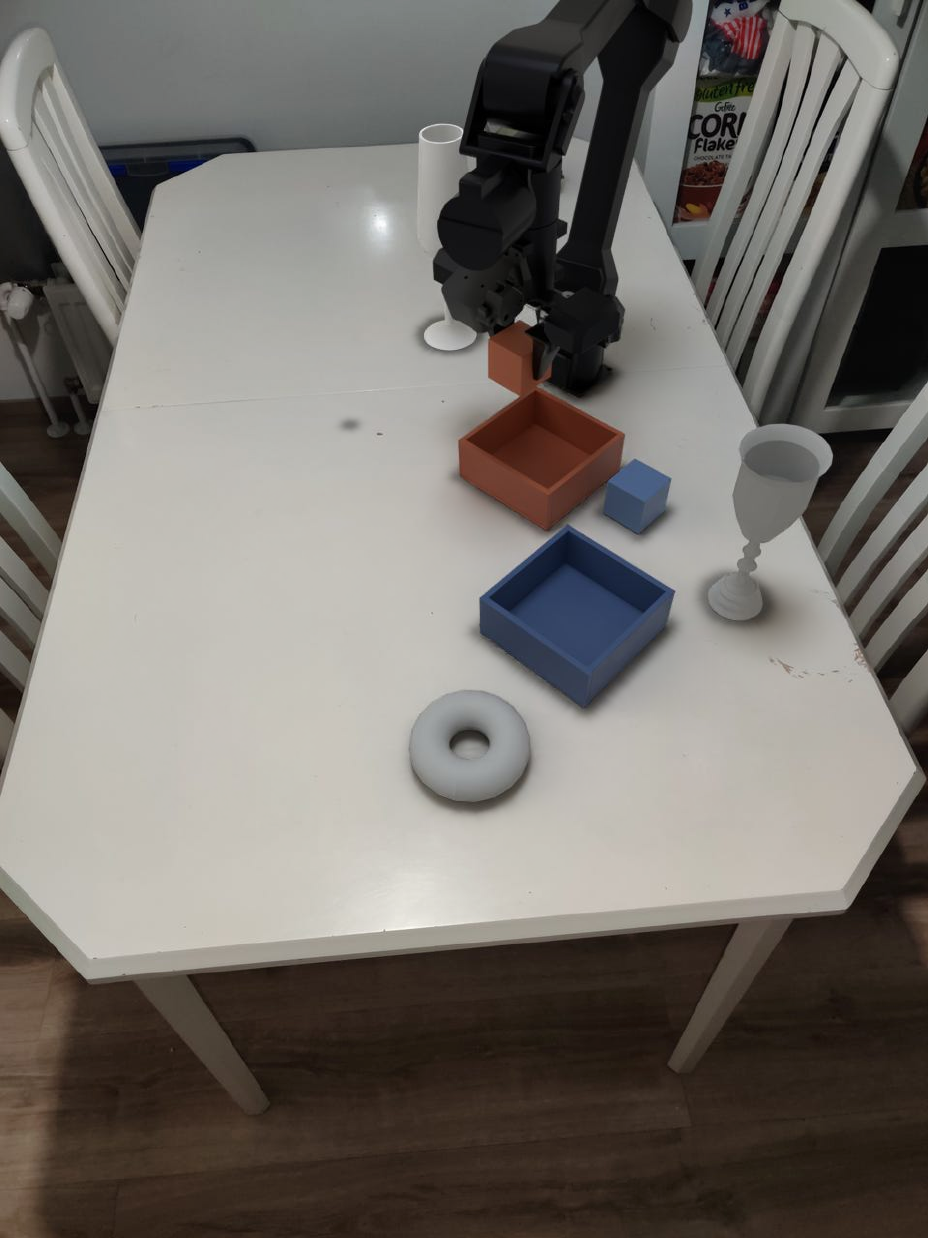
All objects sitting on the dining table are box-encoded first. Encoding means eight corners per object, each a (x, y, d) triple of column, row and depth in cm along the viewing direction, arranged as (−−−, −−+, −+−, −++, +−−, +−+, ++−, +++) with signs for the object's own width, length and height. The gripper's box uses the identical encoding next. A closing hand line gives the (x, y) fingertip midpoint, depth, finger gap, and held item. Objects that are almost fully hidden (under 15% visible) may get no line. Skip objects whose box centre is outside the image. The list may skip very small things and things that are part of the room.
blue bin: (564, 559, 85) (567, 523, 81) (666, 625, 80) (675, 590, 76) (479, 632, 80) (479, 597, 76) (583, 708, 75) (588, 675, 71)
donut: (521, 699, 76) (406, 708, 75) (523, 677, 73) (404, 686, 72) (537, 804, 69) (412, 814, 69) (540, 784, 67) (410, 794, 66)
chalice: (726, 639, 79) (777, 494, 65) (681, 589, 83) (720, 442, 68) (789, 609, 81) (852, 462, 67) (743, 561, 85) (793, 413, 70)
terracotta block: (518, 358, 89) (519, 319, 86) (551, 376, 87) (553, 337, 84) (487, 377, 87) (487, 338, 84) (520, 396, 85) (522, 357, 82)
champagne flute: (462, 314, 112) (457, 114, 93) (486, 341, 108) (484, 138, 89) (415, 328, 110) (399, 127, 92) (437, 356, 107) (425, 153, 88)
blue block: (629, 490, 91) (634, 457, 88) (664, 511, 89) (671, 478, 86) (602, 513, 89) (607, 480, 86) (638, 534, 87) (644, 502, 84)
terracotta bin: (533, 421, 99) (535, 384, 95) (619, 470, 93) (625, 433, 89) (459, 476, 93) (457, 439, 89) (546, 531, 88) (548, 495, 84)
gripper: (382, 211, 75) (397, 365, 87) (543, 292, 67) (534, 449, 79) (473, 167, 80) (475, 319, 92) (634, 237, 71) (612, 394, 84)
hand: (520, 368), depth 86 cm, fingers closed on terracotta block, 4 cm apart
